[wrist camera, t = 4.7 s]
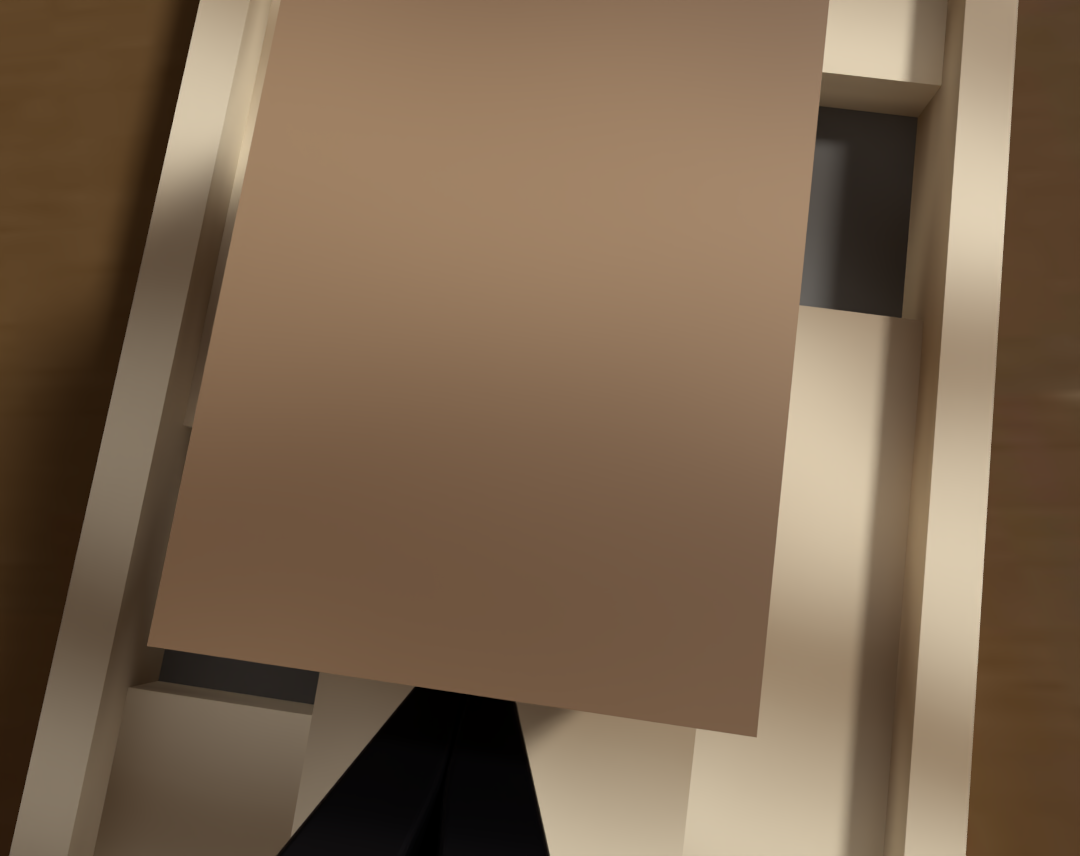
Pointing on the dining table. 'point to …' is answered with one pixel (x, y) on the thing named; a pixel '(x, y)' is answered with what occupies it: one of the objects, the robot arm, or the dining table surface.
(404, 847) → the robot arm
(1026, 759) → the dining table surface
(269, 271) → the block
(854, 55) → the box
